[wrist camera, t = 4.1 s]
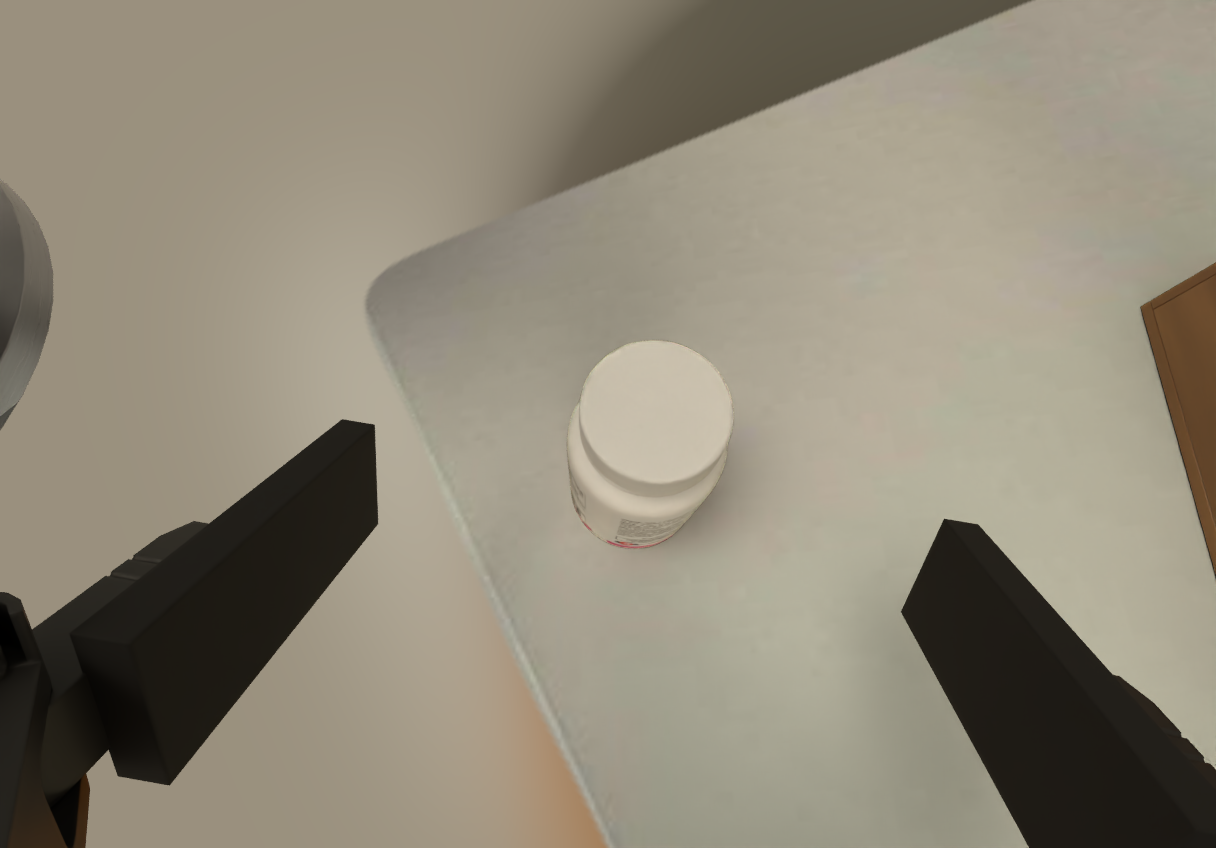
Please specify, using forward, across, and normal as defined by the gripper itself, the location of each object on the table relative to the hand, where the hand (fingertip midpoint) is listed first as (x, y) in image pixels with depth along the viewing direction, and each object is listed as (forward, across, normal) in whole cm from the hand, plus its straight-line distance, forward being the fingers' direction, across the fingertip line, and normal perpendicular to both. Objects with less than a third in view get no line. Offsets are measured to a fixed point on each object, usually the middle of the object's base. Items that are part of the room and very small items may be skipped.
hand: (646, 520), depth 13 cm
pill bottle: (+8, 0, -4) cm, 9 cm away
